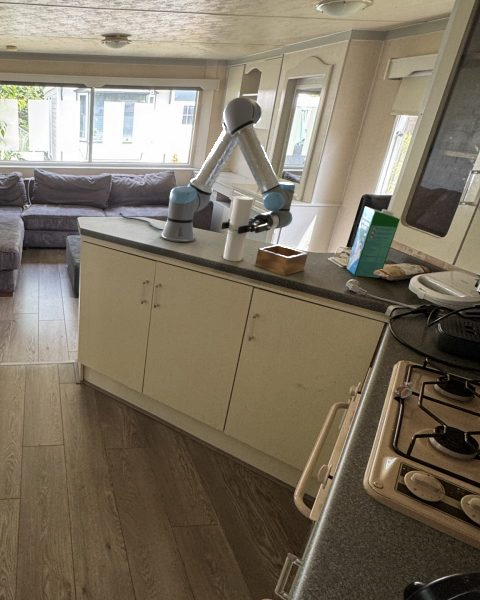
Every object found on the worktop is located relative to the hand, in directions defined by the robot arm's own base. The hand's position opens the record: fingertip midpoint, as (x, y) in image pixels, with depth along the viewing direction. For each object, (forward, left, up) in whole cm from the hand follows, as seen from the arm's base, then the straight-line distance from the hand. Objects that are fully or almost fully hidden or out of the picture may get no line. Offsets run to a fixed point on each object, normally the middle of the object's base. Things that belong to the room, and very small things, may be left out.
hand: (230, 228), depth 171 cm
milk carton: (+37, +37, -14) cm, 54 cm away
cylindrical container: (0, +5, -14) cm, 15 cm away
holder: (+17, +12, -14) cm, 25 cm away
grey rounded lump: (+81, -42, -14) cm, 92 cm away
